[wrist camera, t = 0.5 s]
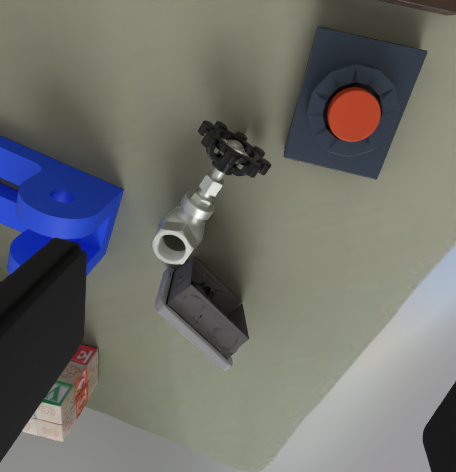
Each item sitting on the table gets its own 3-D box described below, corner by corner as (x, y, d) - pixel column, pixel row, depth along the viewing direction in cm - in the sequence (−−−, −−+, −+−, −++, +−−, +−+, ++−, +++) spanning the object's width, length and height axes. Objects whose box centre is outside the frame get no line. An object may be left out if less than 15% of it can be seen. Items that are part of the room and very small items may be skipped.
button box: (317, 26, 31) (319, 26, 28) (420, 49, 31) (435, 52, 28) (284, 150, 36) (282, 163, 33) (372, 171, 36) (380, 187, 32)
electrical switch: (164, 268, 44) (139, 318, 36) (197, 240, 43) (180, 285, 34) (223, 323, 46) (213, 383, 38) (257, 298, 45) (255, 355, 36)
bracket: (123, 189, 41) (80, 229, 33) (105, 254, 45) (62, 303, 37) (-47, 115, 40) (-133, 137, 32) (-51, 187, 44) (-128, 223, 36)
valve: (207, 248, 42) (274, 154, 37) (192, 283, 36) (268, 178, 31) (152, 213, 41) (211, 112, 36) (128, 244, 36) (194, 129, 30)
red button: (335, 81, 30) (337, 84, 28) (384, 92, 30) (389, 96, 28) (321, 130, 31) (321, 135, 30) (366, 141, 31) (370, 147, 30)
